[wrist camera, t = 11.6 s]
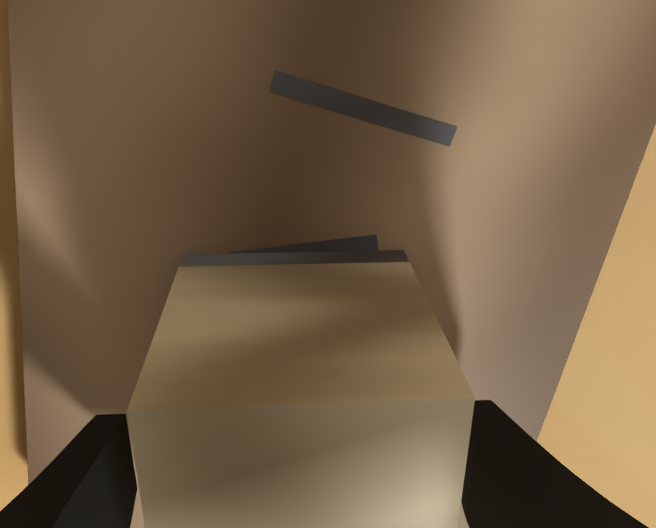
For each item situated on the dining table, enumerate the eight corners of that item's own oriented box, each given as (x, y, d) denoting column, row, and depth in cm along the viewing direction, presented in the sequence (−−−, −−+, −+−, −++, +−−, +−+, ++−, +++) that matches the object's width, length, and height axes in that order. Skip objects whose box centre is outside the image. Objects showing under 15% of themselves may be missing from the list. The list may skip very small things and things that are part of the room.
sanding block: (403, 249, 13) (475, 398, 8) (384, 532, 16) (427, 750, 11) (183, 254, 12) (127, 410, 8) (210, 541, 16) (181, 770, 11)
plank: (876, -606, 9) (960, -689, 8) (481, 515, 18) (495, 550, 16) (7, -915, 7) (-41, -1077, 6) (47, 487, 16) (29, 523, 15)
